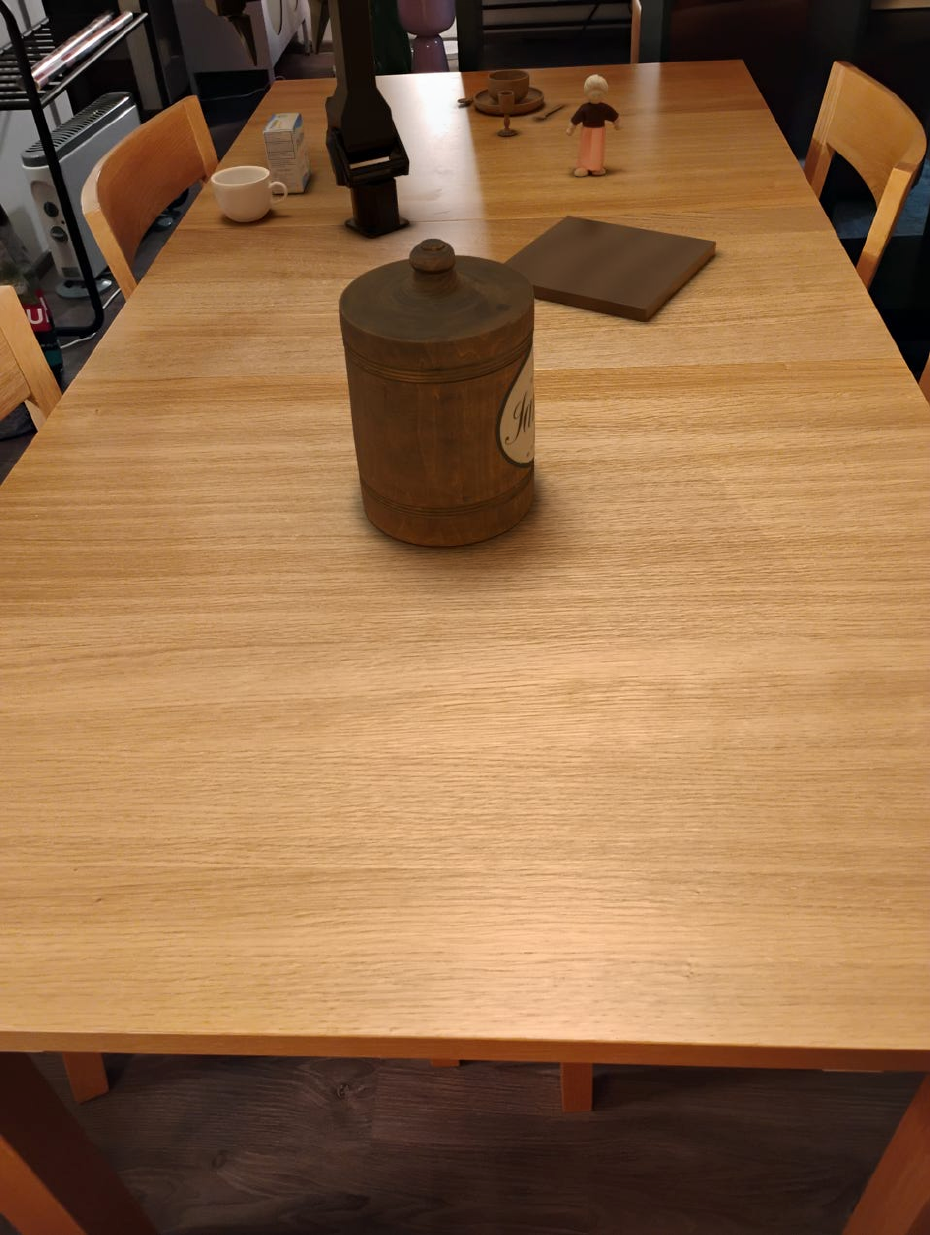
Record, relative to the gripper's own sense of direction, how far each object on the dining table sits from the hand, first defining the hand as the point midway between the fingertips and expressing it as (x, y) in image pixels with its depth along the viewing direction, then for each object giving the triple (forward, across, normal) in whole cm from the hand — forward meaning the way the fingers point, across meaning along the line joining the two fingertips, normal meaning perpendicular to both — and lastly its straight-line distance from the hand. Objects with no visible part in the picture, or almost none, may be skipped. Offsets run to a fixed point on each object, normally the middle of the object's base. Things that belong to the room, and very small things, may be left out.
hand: (285, 59), depth 141 cm
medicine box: (+14, +4, +8) cm, 17 cm away
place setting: (+15, -37, -4) cm, 40 cm away
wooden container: (+8, +20, +88) cm, 91 cm away
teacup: (+14, +12, +16) cm, 25 cm away
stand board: (+10, -17, +58) cm, 61 cm away
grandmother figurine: (+12, -34, +29) cm, 46 cm away
